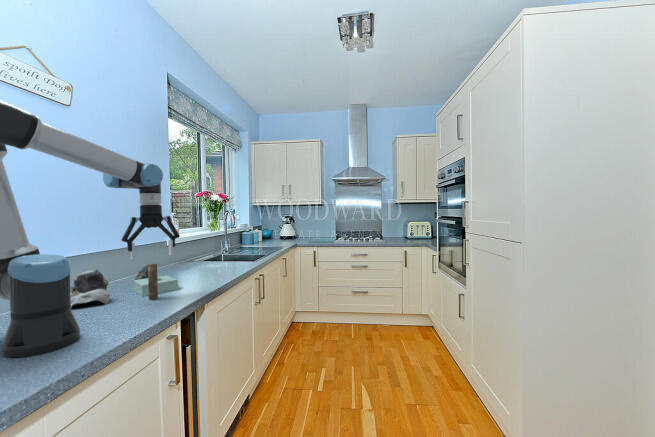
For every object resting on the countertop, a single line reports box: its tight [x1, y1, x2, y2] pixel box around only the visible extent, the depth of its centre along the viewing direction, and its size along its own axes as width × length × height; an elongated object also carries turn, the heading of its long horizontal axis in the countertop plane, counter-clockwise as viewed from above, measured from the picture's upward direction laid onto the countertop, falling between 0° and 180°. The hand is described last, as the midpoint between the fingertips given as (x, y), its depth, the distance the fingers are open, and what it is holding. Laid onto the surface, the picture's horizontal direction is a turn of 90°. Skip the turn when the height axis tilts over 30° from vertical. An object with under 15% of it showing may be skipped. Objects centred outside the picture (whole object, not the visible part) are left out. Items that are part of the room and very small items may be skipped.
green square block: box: [133, 274, 179, 297], centre depth 135 cm, size 14×14×4 cm
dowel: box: [147, 263, 159, 301], centre depth 121 cm, size 3×3×14 cm
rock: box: [132, 264, 148, 285], centre depth 144 cm, size 12×10×10 cm
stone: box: [70, 269, 111, 309], centre depth 116 cm, size 14×10×15 cm
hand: (152, 257), depth 121 cm, fingers open, 13 cm apart
